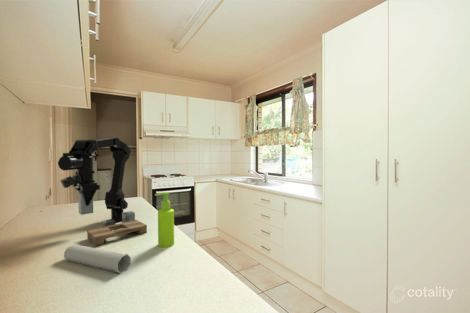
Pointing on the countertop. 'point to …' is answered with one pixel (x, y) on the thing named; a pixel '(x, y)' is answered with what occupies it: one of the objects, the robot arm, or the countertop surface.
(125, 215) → the medium pin
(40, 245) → the countertop surface
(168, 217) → the soap dispenser
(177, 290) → the countertop surface
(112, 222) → the grey metal cube
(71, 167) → the robot arm
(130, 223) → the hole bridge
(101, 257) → the tube
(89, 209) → the long pin
